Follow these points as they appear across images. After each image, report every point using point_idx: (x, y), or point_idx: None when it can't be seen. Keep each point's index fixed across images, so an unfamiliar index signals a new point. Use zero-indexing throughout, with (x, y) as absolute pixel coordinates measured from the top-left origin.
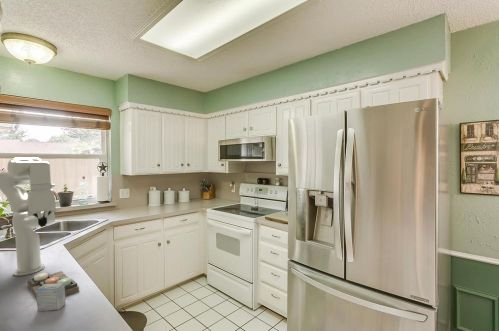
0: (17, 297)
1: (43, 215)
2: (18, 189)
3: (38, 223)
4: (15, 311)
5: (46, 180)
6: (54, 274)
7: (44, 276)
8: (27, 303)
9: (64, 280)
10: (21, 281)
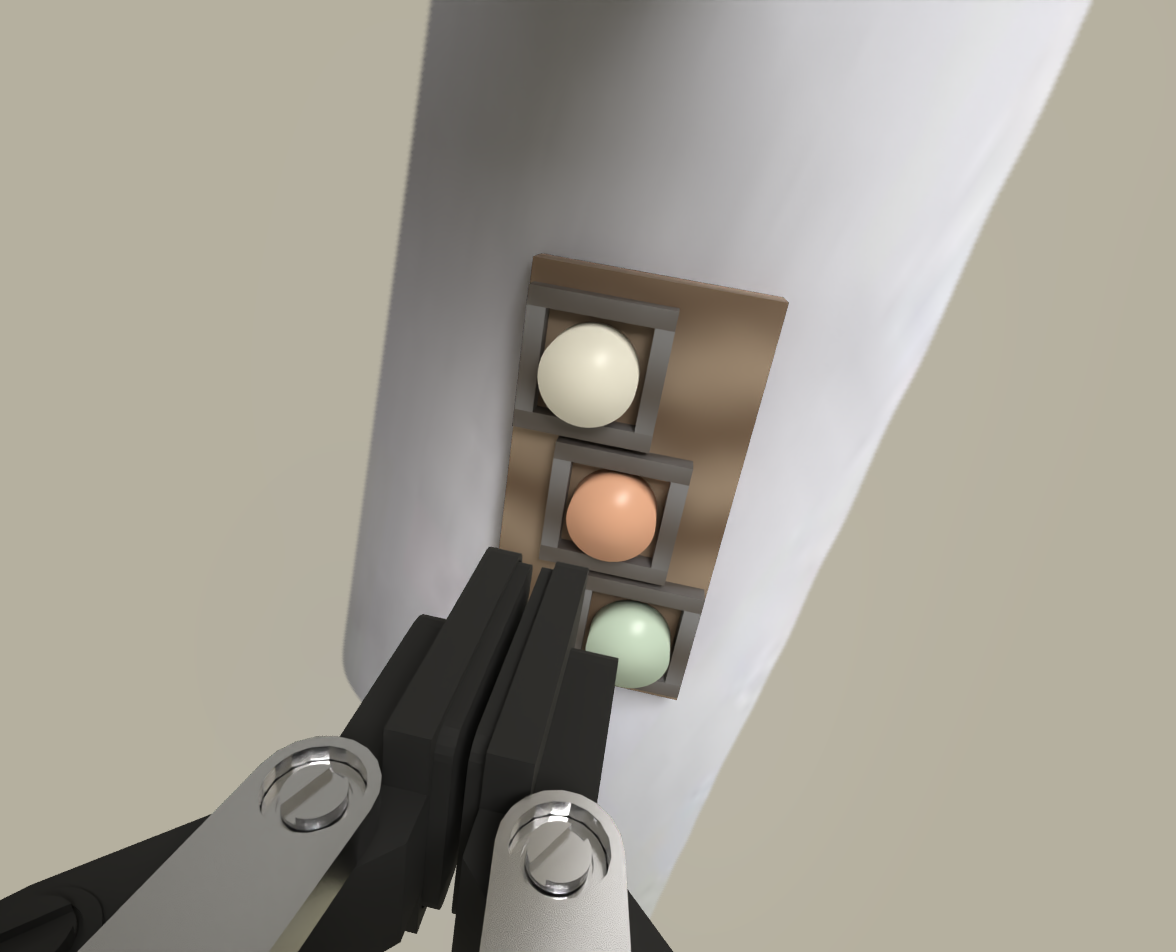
0: (439, 413)
1: (487, 887)
2: None
3: (410, 644)
4: (394, 585)
5: None
6: (715, 327)
7: (596, 425)
8: (454, 554)
9: (629, 655)
10: (540, 75)
